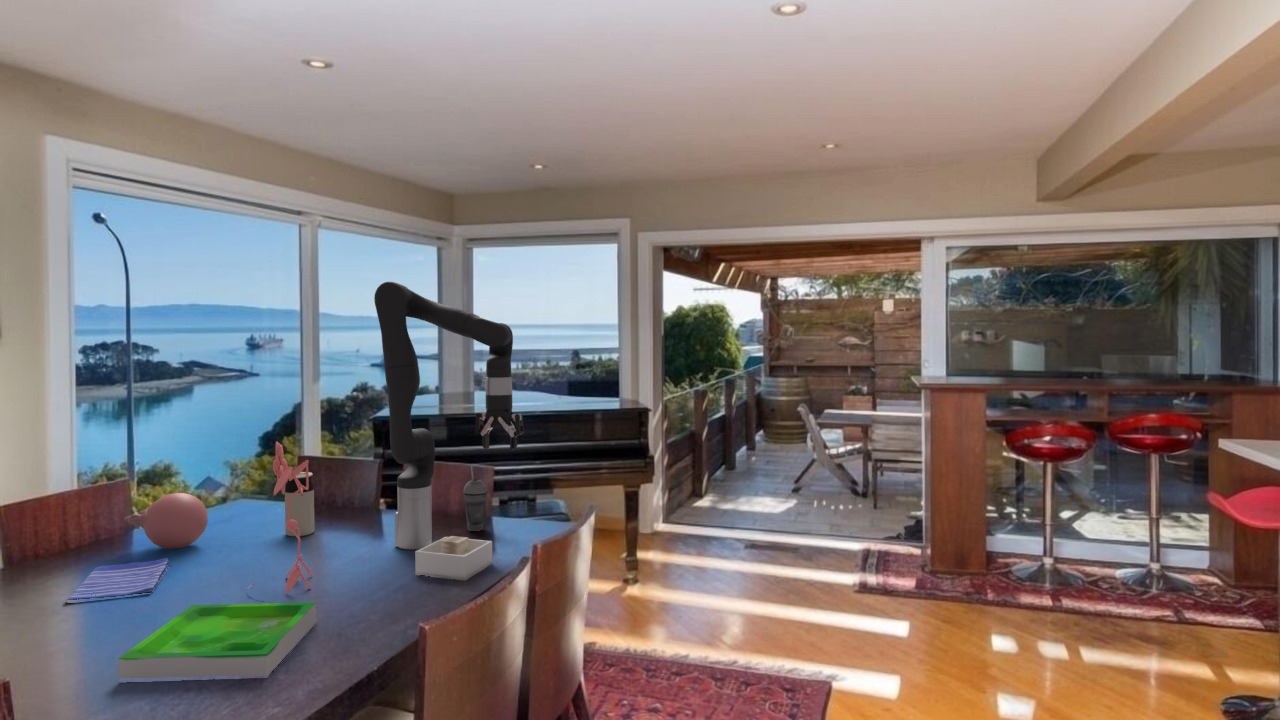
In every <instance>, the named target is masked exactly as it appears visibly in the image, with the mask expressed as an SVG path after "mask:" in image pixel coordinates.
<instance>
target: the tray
mask: <svg viewBox="0 0 1280 720" xmlns="http://www.w3.org/2000/svg"><path fill="white" fill-rule="evenodd" d="M315 623H316V624H317V601H308V602H305V601H304V602H301V601H300V602H270V603H269V602H268V603H266V602H264V603H261V602H260V603H225V604H219V603H218V604H193V605H192V604H191V605H190V606H189V607H187V608H186V609H185V610H183V611H182V612H181V613H179V614H177V615H176V616H175V617H174V618H173V619H171V620H170V621H168V622H167V623H166V624H164V625H162V626H161V627H160V628H157V630H155V631H154V632H152V633H151V634H150V635H149V636H147V637H146V638H144V639H143V640H142V641H140V642H139V643H137V644H136V645H134V647H133V646H132V648H130V649H129V650H128V651H127V652H125V653H123V654H122V655H120V656H119V657H118V659H117V662H118V663H117V666H118V670H117V671H118V679H119V678H157V677H159V678H160V677H192V676H193V677H201V676H252V677H253V676H268V675H269V674H270V672H271V671H272V670H273V669H274V668H275V667H276V666H277V665H278V664H279V663H280V662H281V661H282V659H283V658H284V657H285V656H286V655H287V654H288V653H289V652H290V650H291V649H292V648H293V647H294V646H295V645H296V644H297V643H298V642H299V641H300V639H301V638H302V637H303V636H304V635H305V634H306V633H307V632H308V631H309V630H310V629H311V628H312V627H313V628H314V626H315V625H316V624H315ZM314 624H315V625H314ZM313 625H314V626H313ZM313 628H312V629H313ZM312 629H311V630H312ZM311 630H310V631H311ZM310 631H309V632H310ZM309 632H308V633H309ZM308 633H307V634H308ZM307 634H306V635H307ZM306 635H305V636H306ZM300 642H301V641H300ZM300 642H299V643H300ZM299 643H298V644H299ZM298 644H297V645H298ZM290 653H291V652H290ZM290 653H289V654H290ZM282 662H283V661H282ZM282 662H281V663H282Z"/></svg>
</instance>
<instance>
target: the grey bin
mask: <svg viewBox="0 0 1280 720" xmlns="http://www.w3.org/2000/svg"><path fill="white" fill-rule="evenodd" d="M448 537H449V536H444V537H442V538H440V539H438V540H435V541H434V542H432V544H429V545H427V546H425V547H423V548H421V549H416V550H415V552H414V556H415V558H414V559H415V560H414V561H415V562H414V563H415V565H414V566H415V576H420V575H425V576H424V577H428V576H430V577H429V578H437V579H439V578H440V579H445V580H446V579H447V580H454V579H455V580H456V581H463V582H464V581H467V580H469V579H470V578H472V577H473V576H475V575H477V574H478V573H480V572H482V571H483V570H485V569H486V568H487V567H490V566H491V565H493V540H483V539H472V538H468V553H467V554H466V555H464V556H463V555H453V554H444V553H441V541H442V540H444V539H446V538H448Z"/></svg>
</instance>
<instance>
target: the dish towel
mask: <svg viewBox="0 0 1280 720" xmlns="http://www.w3.org/2000/svg"><path fill="white" fill-rule="evenodd" d="M170 566H171V567H172V564H171V563H170V561H169V558H168V557H164V558H160V559H157V560H151V561H150V560H149V561H143V562H129V563H125V564H121V563H120V564H113V565H111V564H110V565H103V566H96V567H95V568H94V569H93V570H92V571H91V572H90V573H89V575H88V576H86V578H84V580H83V581H84V582H81V583H80V585H79V586H77V587H76V589H75V590H74V591H75V592H74V591H73V593H72V594H77V595H70V597H69V596H68V597H67V598H68V599H67V598H66V599H67V600H77V599H78V600H79V599H90V598H104V597H116V596H125V595H133V594H142V593H151V592H152V591H153V590H154V589H155V588H156V589H157V587H158V586H159V585H160V583H161V582H160V580H161V579H162V580H163V578H164V577H163V575H164V574H165V572H166V571H167V570H168V569H169V567H170ZM171 567H170V568H171ZM169 570H170V569H169ZM169 570H168V571H169ZM165 575H166V574H165ZM165 575H164V576H165ZM162 577H163V578H162ZM162 580H161V581H162ZM159 582H160V583H159ZM158 584H159V585H158ZM157 585H158V586H157ZM156 589H155V590H156ZM84 590H93V591H87V592H86V591H84ZM155 590H154V591H155ZM93 592H94V593H96V592H97V594H89V593H93ZM101 592H102V593H101ZM81 593H84V594H82V595H81ZM85 593H87V594H85ZM152 593H153V592H152ZM152 593H151V594H152ZM91 595H92V596H91ZM95 595H96V596H95Z"/></svg>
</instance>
